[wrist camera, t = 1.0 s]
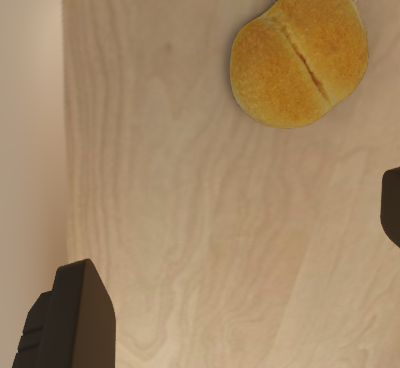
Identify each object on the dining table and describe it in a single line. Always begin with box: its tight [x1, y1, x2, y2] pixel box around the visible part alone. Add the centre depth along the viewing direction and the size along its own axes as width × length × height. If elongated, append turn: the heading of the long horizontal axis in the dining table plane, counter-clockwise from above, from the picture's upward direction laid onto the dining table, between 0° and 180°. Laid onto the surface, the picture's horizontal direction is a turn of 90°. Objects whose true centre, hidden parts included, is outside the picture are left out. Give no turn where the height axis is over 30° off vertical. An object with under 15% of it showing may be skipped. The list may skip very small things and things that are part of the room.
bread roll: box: [230, 0, 369, 129], centre depth 23 cm, size 8×9×4 cm
